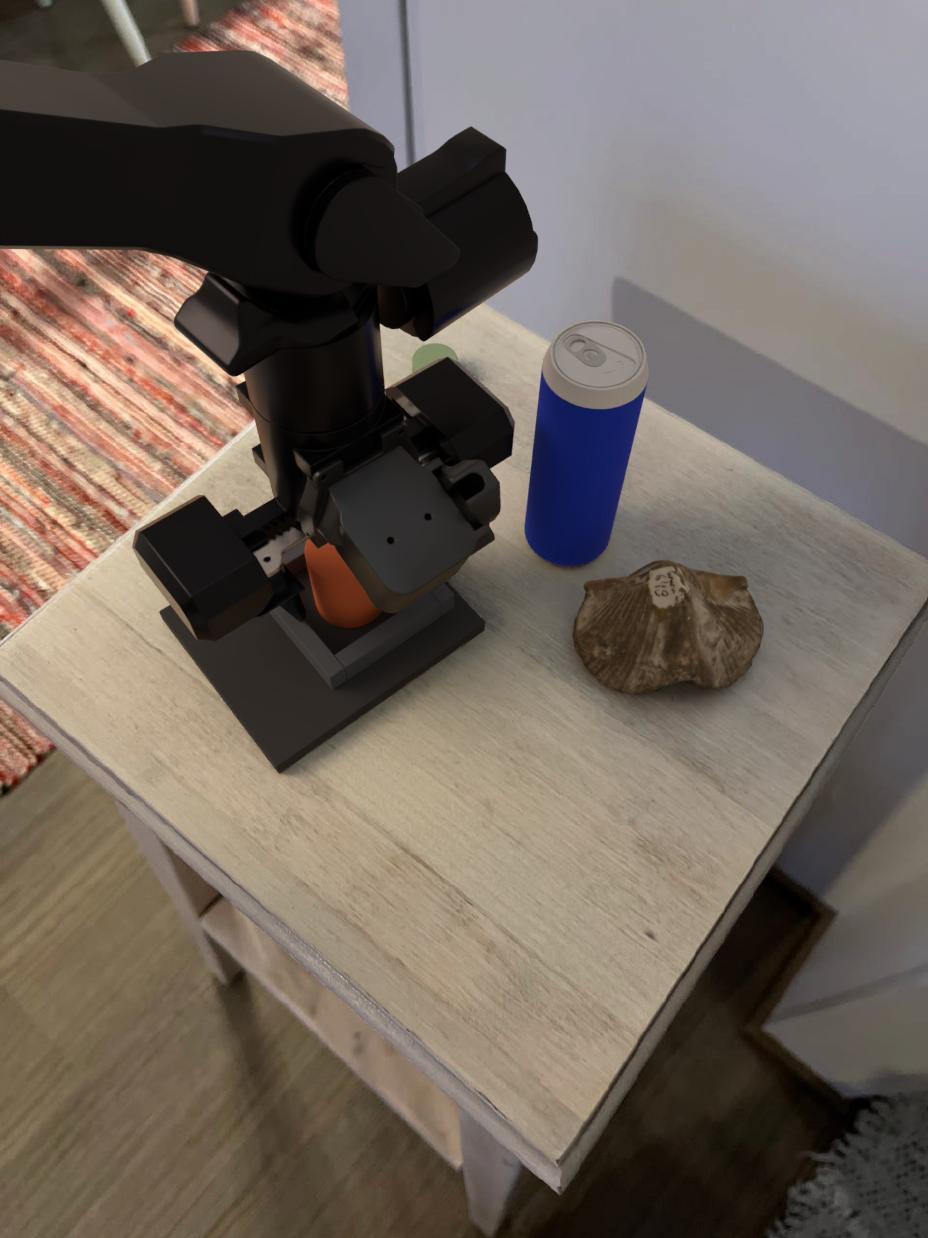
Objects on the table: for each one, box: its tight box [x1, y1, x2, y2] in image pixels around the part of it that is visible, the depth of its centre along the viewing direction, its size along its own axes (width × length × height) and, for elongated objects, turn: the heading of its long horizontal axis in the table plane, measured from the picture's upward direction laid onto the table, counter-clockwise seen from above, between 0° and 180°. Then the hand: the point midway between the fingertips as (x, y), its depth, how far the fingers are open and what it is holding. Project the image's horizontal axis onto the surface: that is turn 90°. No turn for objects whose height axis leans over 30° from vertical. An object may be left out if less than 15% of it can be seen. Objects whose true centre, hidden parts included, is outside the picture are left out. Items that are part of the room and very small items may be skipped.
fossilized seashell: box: [571, 559, 765, 696], centre depth 54 cm, size 8×7×10 cm
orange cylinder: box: [305, 539, 382, 628], centre depth 54 cm, size 4×4×5 cm
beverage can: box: [523, 319, 650, 567], centre depth 53 cm, size 5×5×15 cm
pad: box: [411, 342, 459, 373], centre depth 66 cm, size 3×3×2 cm
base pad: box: [158, 539, 486, 774], centre depth 56 cm, size 14×12×2 cm
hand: (347, 583), depth 55 cm, fingers open, 6 cm apart
